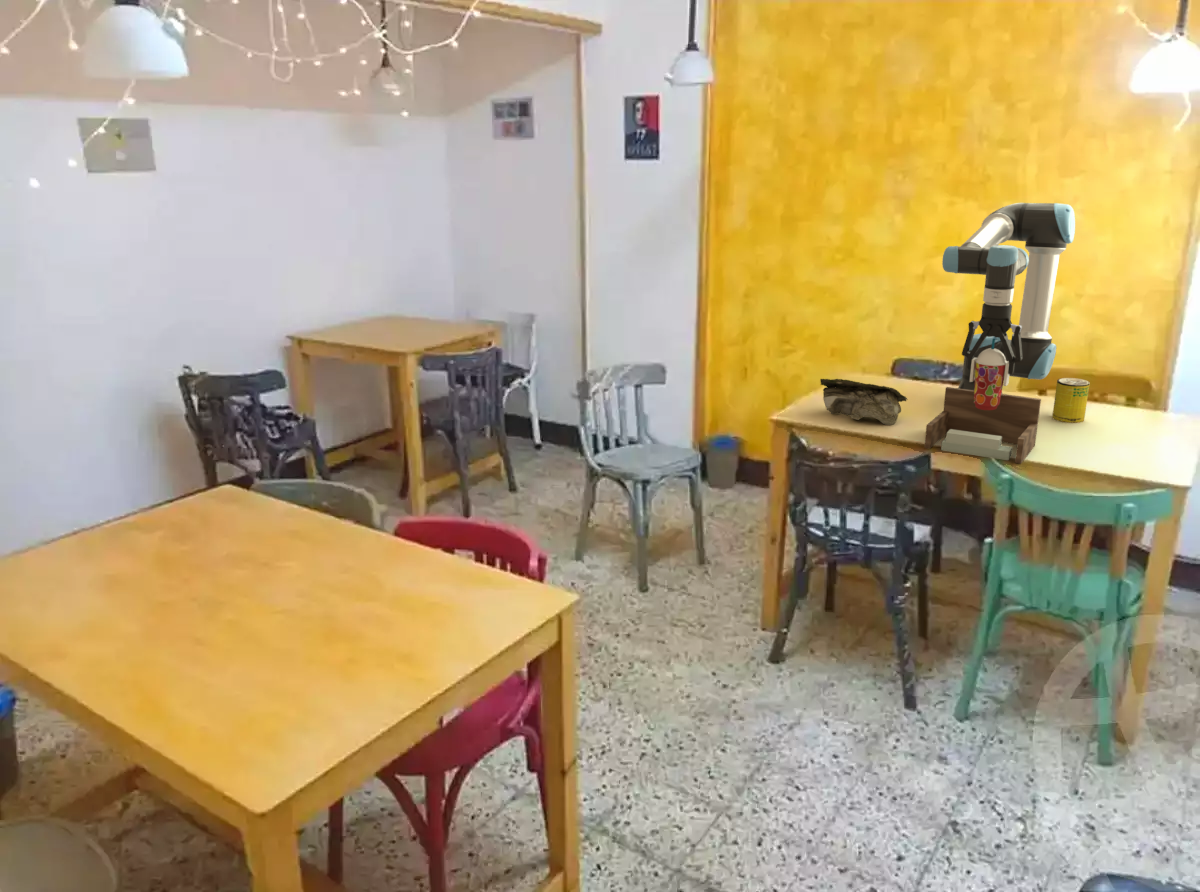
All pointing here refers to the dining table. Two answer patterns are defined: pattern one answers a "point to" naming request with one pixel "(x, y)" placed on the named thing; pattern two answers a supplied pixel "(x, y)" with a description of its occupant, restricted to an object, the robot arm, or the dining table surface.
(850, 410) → the hollow geode rock
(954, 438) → the offcut stack
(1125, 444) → the dining table surface
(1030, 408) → the walnut rack
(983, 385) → the smoothie
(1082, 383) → the beverage can
